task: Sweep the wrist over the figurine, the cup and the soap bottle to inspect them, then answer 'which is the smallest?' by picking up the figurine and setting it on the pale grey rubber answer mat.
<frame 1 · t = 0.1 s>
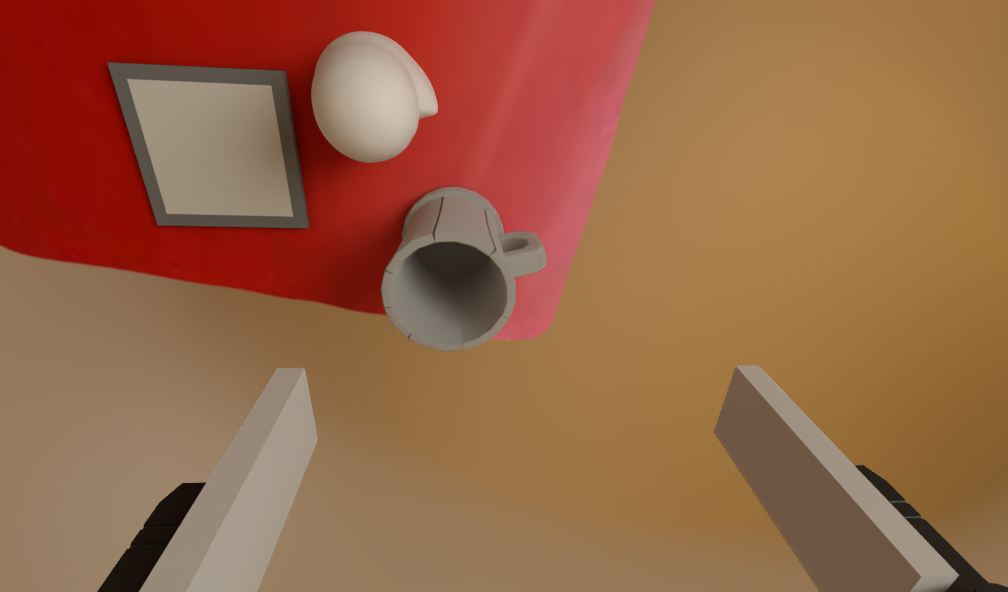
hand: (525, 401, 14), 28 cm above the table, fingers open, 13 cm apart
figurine: (383, 89, 35), on the table
cup: (461, 228, 41), on the table
answer mat: (220, 151, 36), on the table
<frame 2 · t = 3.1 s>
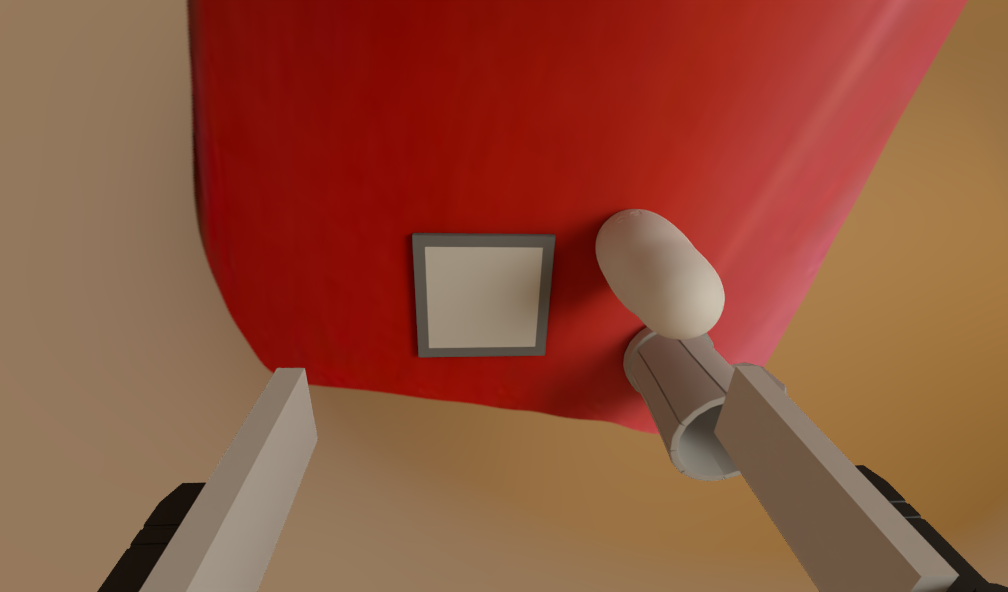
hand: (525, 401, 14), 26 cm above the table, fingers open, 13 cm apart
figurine: (630, 244, 41), on the table
cup: (671, 348, 46), on the table
answer mat: (483, 297, 42), on the table
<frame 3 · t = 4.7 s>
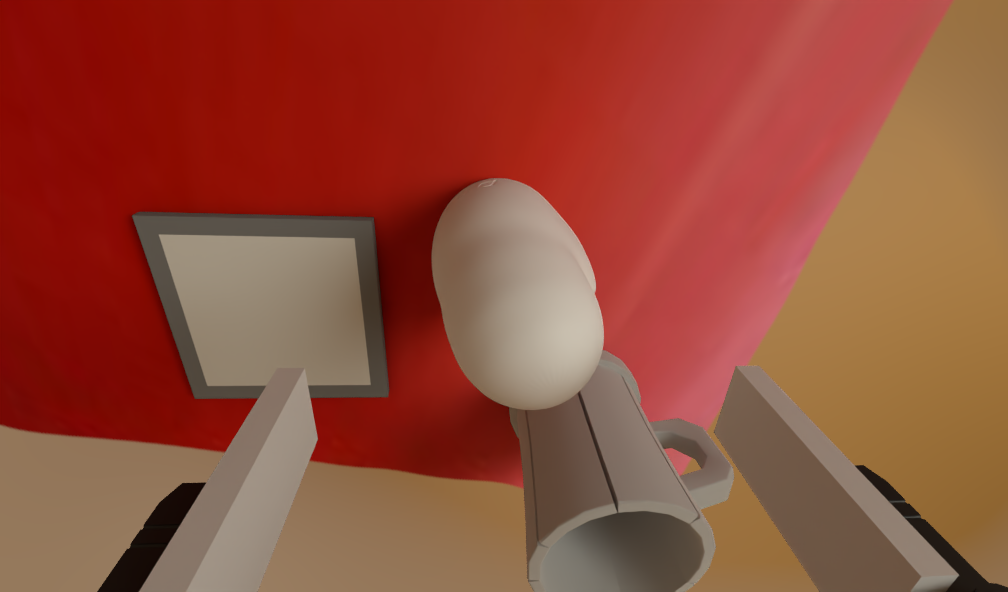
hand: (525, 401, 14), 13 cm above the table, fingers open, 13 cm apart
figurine: (501, 235, 26), on the table
cup: (580, 387, 32), on the table
answer mat: (279, 312, 27), on the table
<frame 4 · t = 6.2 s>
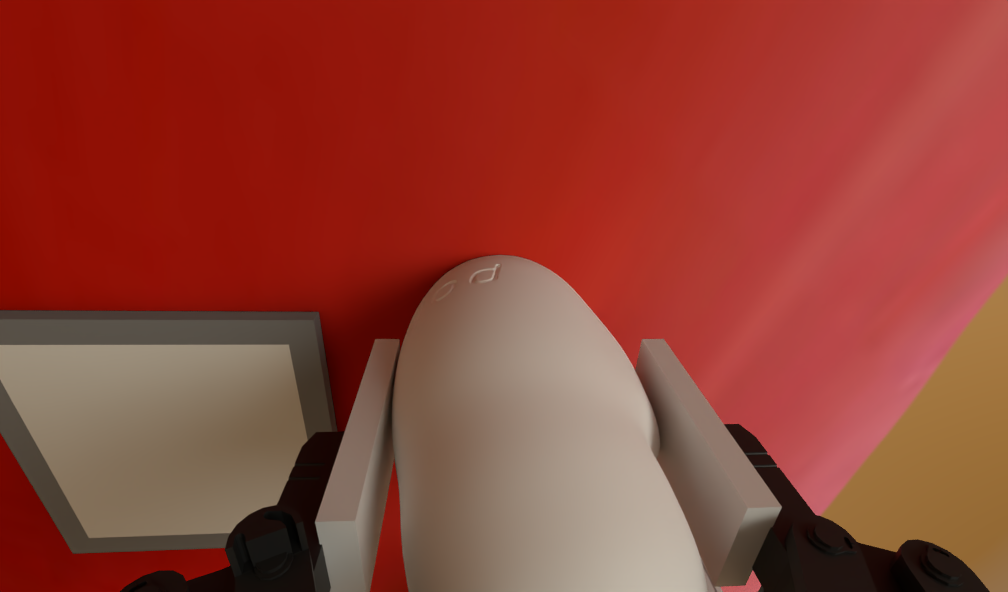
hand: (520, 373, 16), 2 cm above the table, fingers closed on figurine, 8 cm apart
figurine: (504, 332, 18), on the table, touching gripper
answer mat: (186, 439, 19), on the table
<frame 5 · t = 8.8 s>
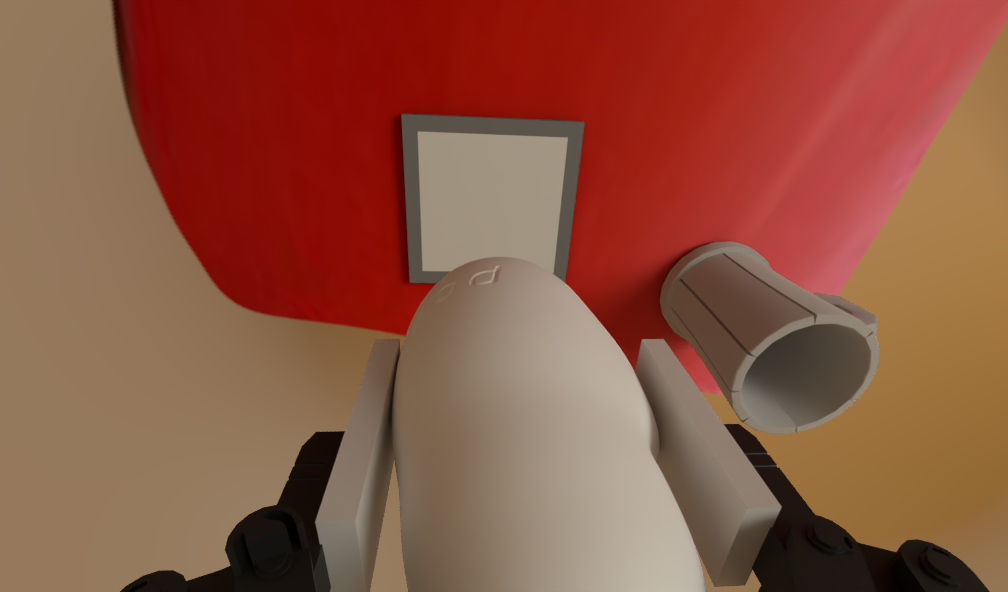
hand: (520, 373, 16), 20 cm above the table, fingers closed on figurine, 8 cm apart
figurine: (504, 334, 18), point 18 cm above the table, touching gripper
cup: (718, 282, 38), on the table
answer mat: (490, 205, 33), on the table
when the fingers open (3 cm above the table, at t = 11.3 s): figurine stays where it is, resting on answer mat.
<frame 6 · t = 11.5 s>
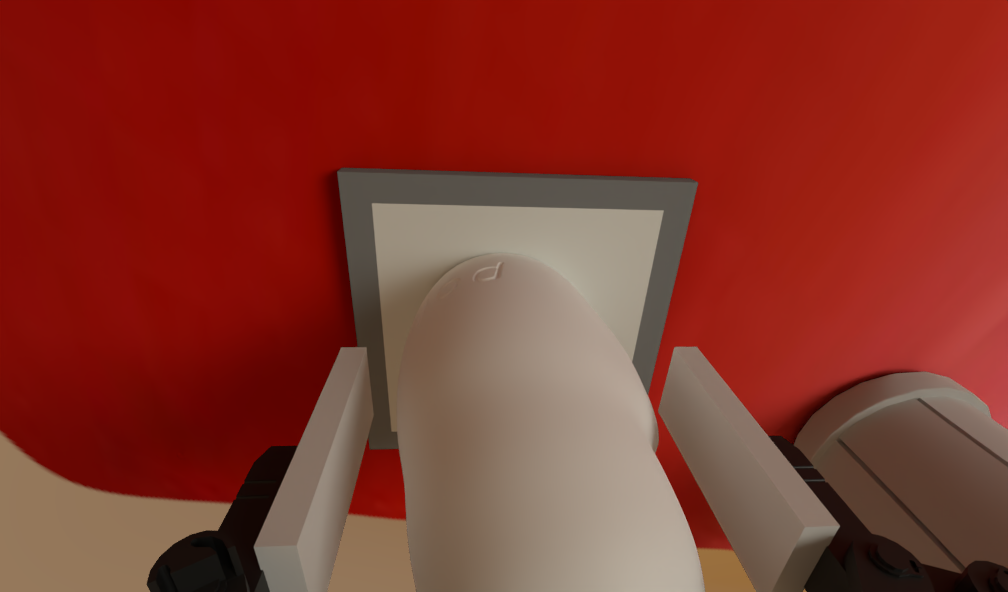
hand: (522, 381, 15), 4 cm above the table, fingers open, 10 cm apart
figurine: (506, 329, 18), resting on answer mat
cup: (883, 426, 23), on the table
answer mat: (512, 324, 18), on the table
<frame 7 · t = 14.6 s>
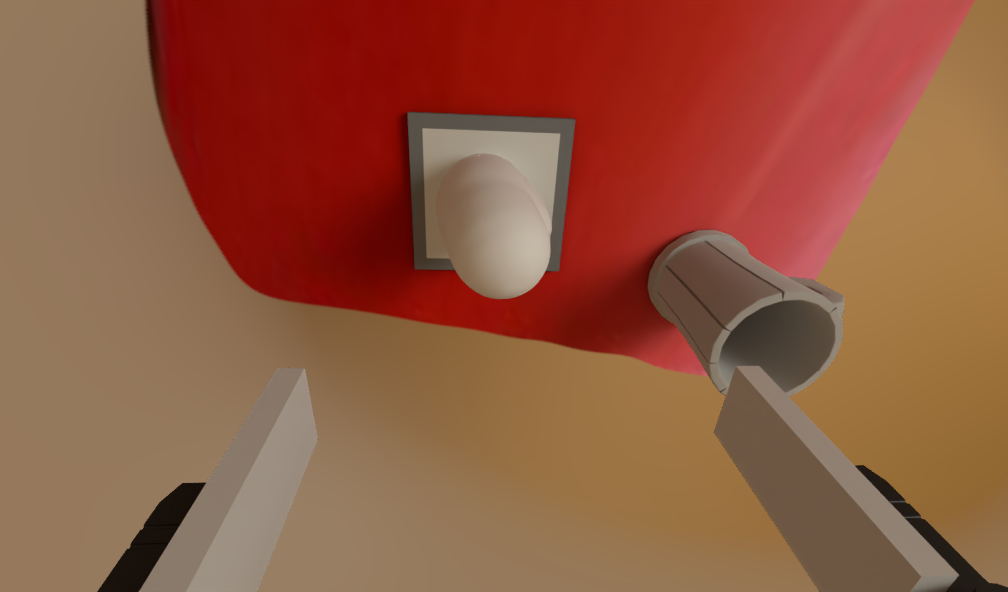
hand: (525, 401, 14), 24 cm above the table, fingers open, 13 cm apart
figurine: (486, 197, 36), resting on answer mat
cup: (702, 269, 41), on the table
answer mat: (489, 197, 36), on the table
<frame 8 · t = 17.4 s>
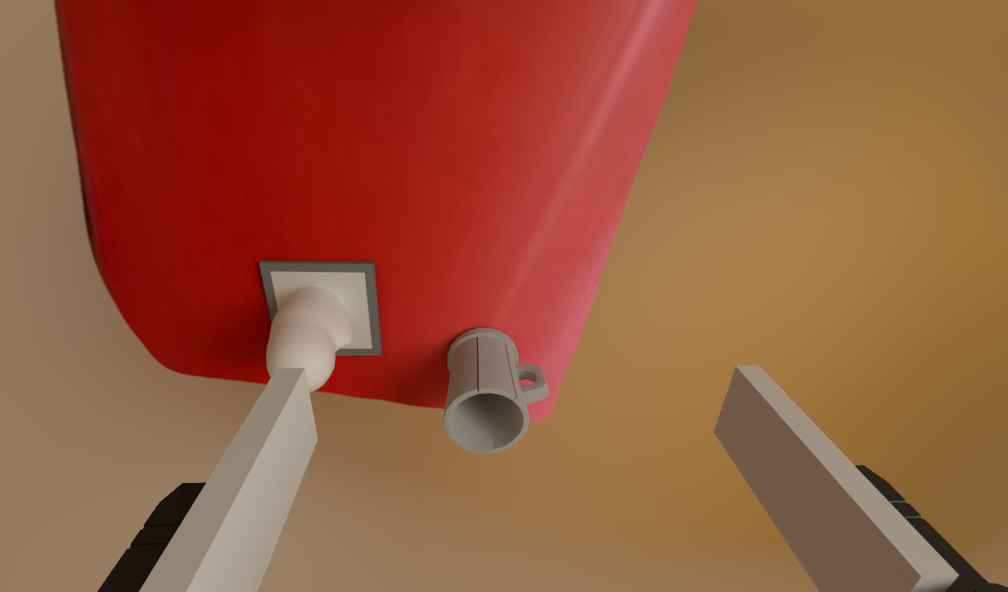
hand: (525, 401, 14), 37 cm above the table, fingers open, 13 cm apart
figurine: (321, 310, 53), resting on answer mat
cup: (488, 351, 58), on the table
answer mat: (325, 309, 53), on the table
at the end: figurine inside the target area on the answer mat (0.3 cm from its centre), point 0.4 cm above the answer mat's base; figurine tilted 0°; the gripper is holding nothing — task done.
